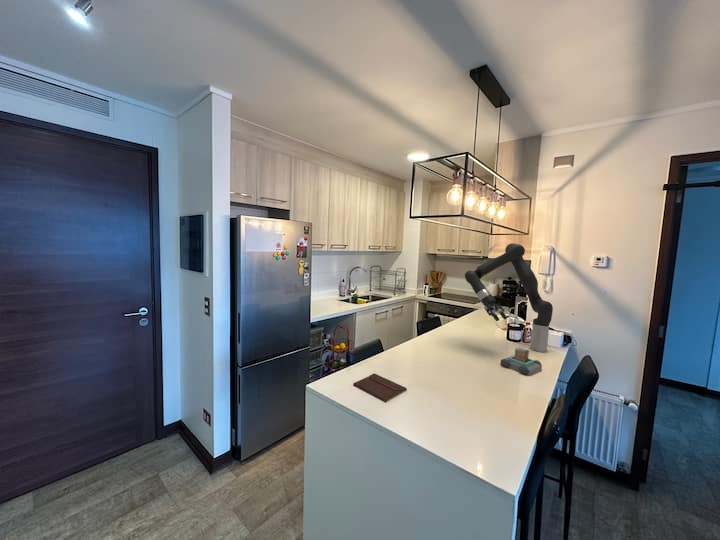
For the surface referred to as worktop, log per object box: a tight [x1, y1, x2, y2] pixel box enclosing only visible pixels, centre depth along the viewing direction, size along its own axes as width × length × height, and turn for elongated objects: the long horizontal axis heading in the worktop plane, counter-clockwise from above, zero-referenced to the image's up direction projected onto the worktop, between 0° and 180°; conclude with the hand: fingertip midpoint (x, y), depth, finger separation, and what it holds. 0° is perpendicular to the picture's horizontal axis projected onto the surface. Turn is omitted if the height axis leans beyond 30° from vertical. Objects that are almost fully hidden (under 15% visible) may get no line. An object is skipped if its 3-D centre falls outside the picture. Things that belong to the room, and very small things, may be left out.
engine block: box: [514, 346, 530, 363], centre depth 162 cm, size 5×5×8 cm
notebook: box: [353, 373, 408, 403], centre depth 135 cm, size 15×20×2 cm
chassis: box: [500, 355, 543, 377], centre depth 163 cm, size 16×16×5 cm
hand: (502, 319), depth 175 cm, fingers open, 8 cm apart
